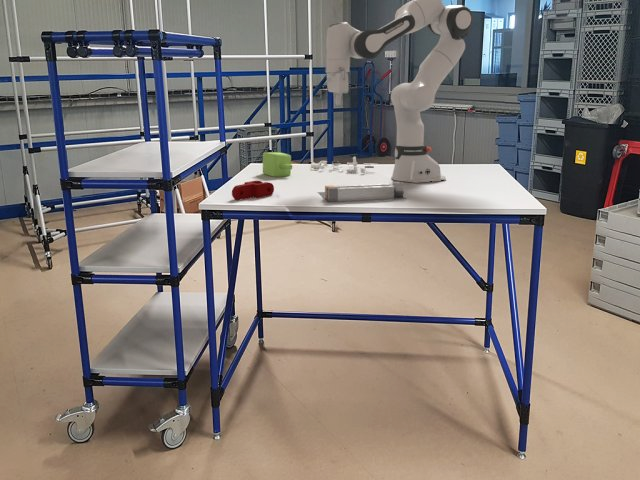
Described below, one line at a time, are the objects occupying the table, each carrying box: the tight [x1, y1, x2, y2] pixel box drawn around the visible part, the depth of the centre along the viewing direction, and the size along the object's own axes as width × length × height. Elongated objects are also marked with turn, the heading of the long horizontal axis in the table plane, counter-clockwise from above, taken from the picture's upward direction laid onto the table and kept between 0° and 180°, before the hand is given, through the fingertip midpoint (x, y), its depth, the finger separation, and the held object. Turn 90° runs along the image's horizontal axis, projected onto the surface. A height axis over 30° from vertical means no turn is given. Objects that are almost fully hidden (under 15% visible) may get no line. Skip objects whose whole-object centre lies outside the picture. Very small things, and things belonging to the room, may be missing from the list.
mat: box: [316, 191, 407, 204], centre depth 207 cm, size 28×18×1 cm, turn 102°
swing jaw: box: [324, 183, 391, 199], centre depth 203 cm, size 23×3×4 cm, turn 102°
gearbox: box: [262, 151, 293, 178], centre depth 254 cm, size 18×10×10 cm, turn 33°
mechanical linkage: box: [231, 179, 275, 201], centre depth 210 cm, size 16×7×5 cm, turn 138°
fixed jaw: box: [327, 181, 405, 203], centre depth 201 cm, size 28×5×5 cm, turn 102°
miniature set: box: [309, 156, 377, 174], centre depth 266 cm, size 6×35×12 cm
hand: (337, 104), depth 225 cm, fingers closed
